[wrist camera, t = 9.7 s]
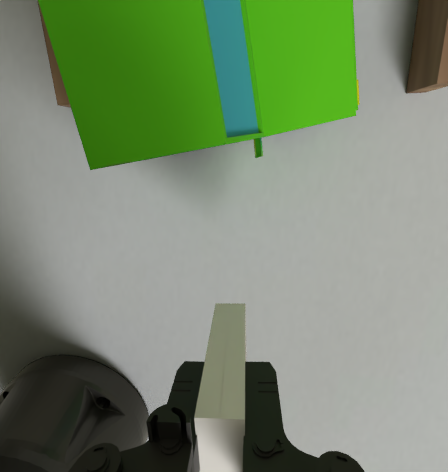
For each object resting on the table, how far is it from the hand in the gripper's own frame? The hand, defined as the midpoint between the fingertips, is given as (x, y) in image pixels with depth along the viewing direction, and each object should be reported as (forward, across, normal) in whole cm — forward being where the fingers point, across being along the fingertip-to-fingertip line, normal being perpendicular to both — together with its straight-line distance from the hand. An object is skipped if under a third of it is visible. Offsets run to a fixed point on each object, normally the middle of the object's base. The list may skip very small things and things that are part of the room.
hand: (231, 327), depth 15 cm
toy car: (+10, 0, +13) cm, 16 cm away
